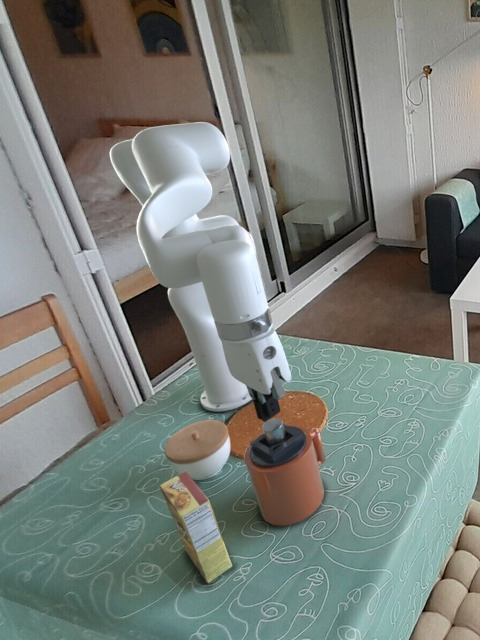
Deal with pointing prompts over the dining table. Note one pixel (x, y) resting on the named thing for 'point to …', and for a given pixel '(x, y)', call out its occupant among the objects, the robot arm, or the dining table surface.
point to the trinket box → (199, 449)
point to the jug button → (274, 431)
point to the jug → (287, 475)
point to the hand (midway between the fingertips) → (269, 415)
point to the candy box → (196, 525)
